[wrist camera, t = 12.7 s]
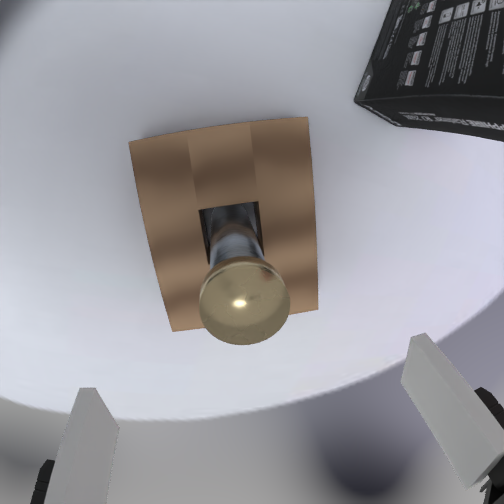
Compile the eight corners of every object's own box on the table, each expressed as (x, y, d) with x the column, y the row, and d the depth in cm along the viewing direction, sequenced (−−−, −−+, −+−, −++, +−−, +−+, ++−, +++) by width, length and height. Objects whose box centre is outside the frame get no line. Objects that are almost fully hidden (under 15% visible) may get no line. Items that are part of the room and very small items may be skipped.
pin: (201, 199, 34) (190, 275, 17) (250, 192, 34) (287, 260, 17) (209, 244, 36) (208, 350, 19) (256, 237, 36) (292, 337, 19)
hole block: (140, 139, 30) (128, 141, 26) (294, 117, 31) (307, 116, 27) (176, 307, 38) (172, 331, 33) (306, 287, 39) (318, 309, 34)
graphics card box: (395, 131, 33) (613, 184, 8) (346, 104, 31) (581, 110, 6) (431, 21, 27) (609, -10, 2) (387, -9, 26) (560, -82, 1)
